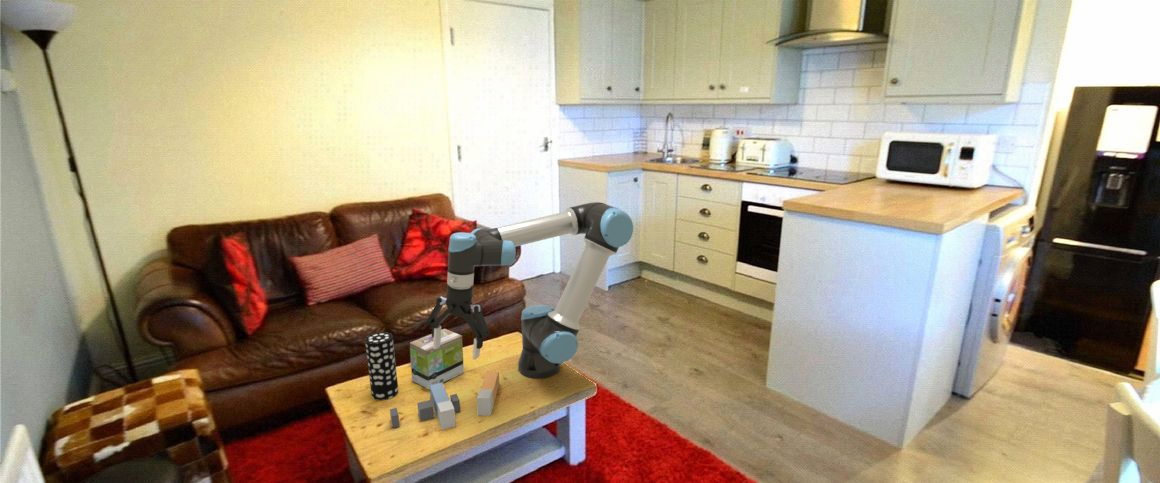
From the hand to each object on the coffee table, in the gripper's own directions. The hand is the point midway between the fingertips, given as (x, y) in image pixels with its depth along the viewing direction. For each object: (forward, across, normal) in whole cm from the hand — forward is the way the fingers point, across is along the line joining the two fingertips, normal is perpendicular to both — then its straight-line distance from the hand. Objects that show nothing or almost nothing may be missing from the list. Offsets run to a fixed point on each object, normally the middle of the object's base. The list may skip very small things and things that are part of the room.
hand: (456, 352), depth 160 cm
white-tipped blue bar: (+20, -3, -1) cm, 20 cm away
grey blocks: (+21, -6, -5) cm, 22 cm away
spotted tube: (+22, -27, +2) cm, 35 cm away
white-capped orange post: (+18, +7, +10) cm, 22 cm away
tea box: (+20, -16, +17) cm, 30 cm away
